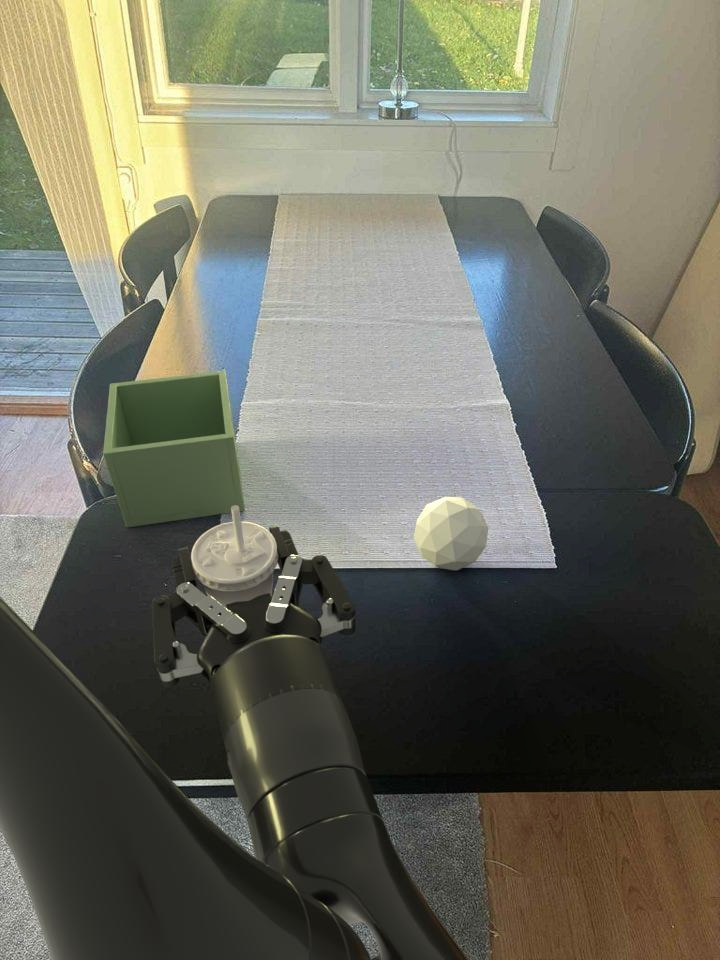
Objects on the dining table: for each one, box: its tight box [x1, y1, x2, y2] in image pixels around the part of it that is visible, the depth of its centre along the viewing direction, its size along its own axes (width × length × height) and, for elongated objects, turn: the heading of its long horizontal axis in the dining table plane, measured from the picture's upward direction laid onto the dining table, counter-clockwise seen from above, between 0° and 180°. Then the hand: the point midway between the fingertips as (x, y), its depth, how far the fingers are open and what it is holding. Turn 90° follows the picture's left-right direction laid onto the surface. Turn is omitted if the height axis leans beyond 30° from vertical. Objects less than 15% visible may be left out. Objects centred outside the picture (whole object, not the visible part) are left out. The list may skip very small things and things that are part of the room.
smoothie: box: [190, 505, 279, 608], centre depth 53 cm, size 6×6×14 cm
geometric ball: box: [413, 496, 489, 572], centre depth 75 cm, size 8×8×8 cm
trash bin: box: [102, 370, 246, 529], centre depth 83 cm, size 14×14×11 cm
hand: (229, 544), depth 54 cm, fingers closed on smoothie, 6 cm apart
